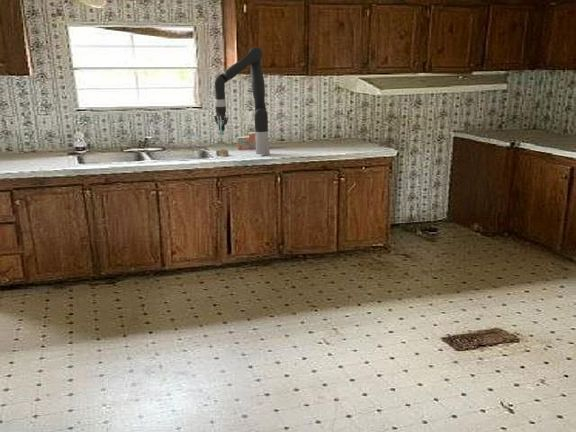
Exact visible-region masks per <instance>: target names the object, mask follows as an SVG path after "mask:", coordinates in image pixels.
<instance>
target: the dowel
mask: <svg viewBox="0 0 576 432" xmlns="http://www.w3.org/2000/svg"><path fill="white" fill-rule="evenodd" d="M221 126H222V125H221V122H220V130H219V131H220V135H221V136H223V135H224V131H222V128H221Z"/></svg>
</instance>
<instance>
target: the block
mask: <svg viewBox="0 0 576 432" xmlns="http://www.w3.org/2000/svg"><path fill="white" fill-rule="evenodd" d="M217 150H218V156H217V157H226V156H227V157H229V149H226V148H225V149H224V148H222V150H221V149H217Z"/></svg>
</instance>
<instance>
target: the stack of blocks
mask: <svg viewBox="0 0 576 432" xmlns="http://www.w3.org/2000/svg"><path fill="white" fill-rule="evenodd" d="M236 138H237V150H238V149H239V150H256V138H255V131H254V132H253V131H250V132H248V136H237V137H236Z"/></svg>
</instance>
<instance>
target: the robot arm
mask: <svg viewBox="0 0 576 432" xmlns="http://www.w3.org/2000/svg"><path fill="white" fill-rule="evenodd" d="M262 58H263V51H262V49H261V48H259V47H256V46H253V47H251V48H250V49H249V50H248V53H247V54H246V55H245V56H244V57H242V58H241V59H240V60H239V61H236V62H235V63H234V64H232V65H231V66H229V67H227V68H226V69H225V71H223V72H221V73H220V74H219V75H218V76H216V77H215V78H214V80H213V83H214V89H215V91H214V98H215V99H214V105H215V107H214V109H215V113H216V115H215V116H214V117H213V118H214V120H215V123H216V125H217V126H218V130H219V131H220V122H221V125H222V126H221V128H222V131H223V132H224V131H225V129H226V127H225V126H226V125H227V124H228V120H229V116H227V115H226V113H227V102H226V92H225V91H226V90H225V89H226V83H227V82H229V81H230V80H232V79H234V78H235V77H236V76H237V75H239V74H240V73H241V72H243V70H244V69H246V68H247V67H249V66H250V80H251V82H250V83H251V92H252V97H253V100H254V130H255V131H254V132H255V138H256V149H255V154H256V155H260V157H264V156H268V155H270V154H271V153H270V152H271V151H270V141H269V122H268V112H267V107H266V106H267V105H266V100H265V99H266V87H265V85H266V84H265V78H264V74H263V71H262Z"/></svg>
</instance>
